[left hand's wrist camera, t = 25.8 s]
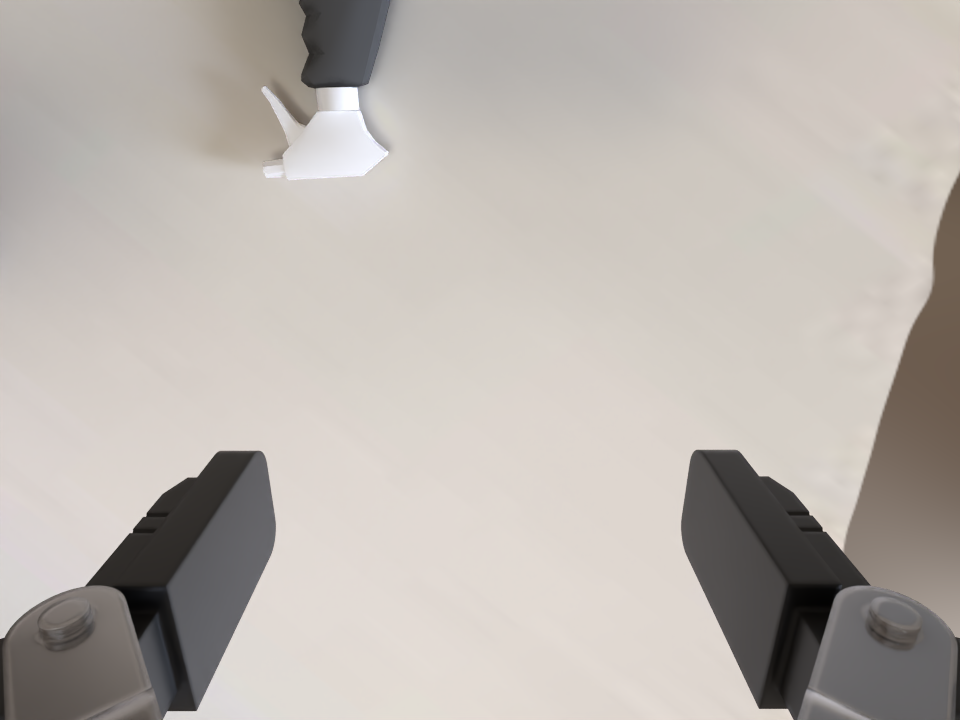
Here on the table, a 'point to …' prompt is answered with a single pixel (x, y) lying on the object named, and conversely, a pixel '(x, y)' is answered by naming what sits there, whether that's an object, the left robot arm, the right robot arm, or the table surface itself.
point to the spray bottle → (333, 92)
